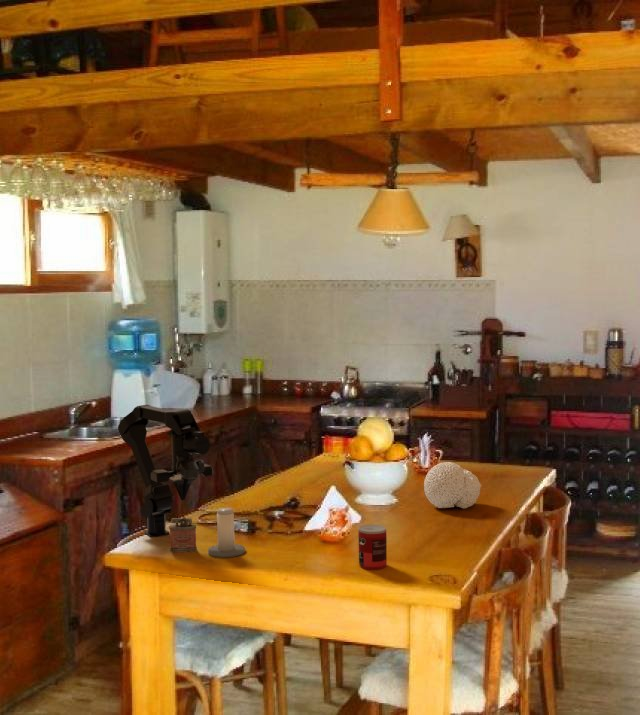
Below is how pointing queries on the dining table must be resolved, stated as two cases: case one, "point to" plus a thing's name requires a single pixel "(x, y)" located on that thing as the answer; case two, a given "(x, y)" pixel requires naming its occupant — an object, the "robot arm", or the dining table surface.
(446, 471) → the beige brain coral
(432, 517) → the dining table surface
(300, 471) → the dining table surface
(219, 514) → the salt shaker
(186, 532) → the lighter
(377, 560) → the canned food
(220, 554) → the disc
